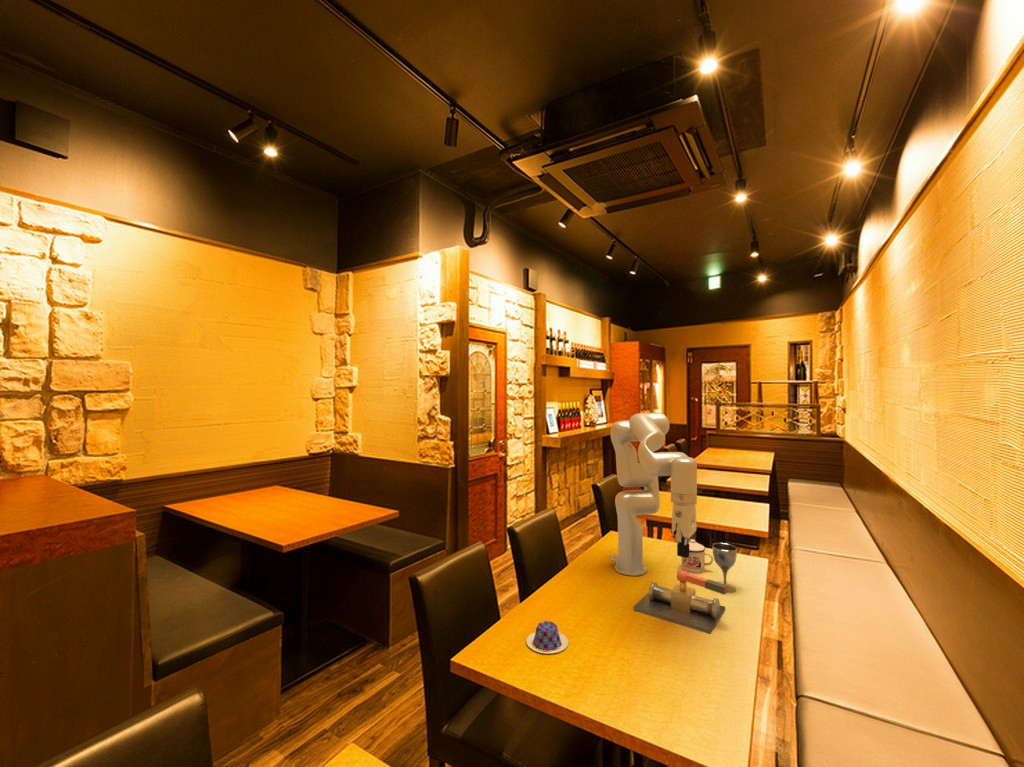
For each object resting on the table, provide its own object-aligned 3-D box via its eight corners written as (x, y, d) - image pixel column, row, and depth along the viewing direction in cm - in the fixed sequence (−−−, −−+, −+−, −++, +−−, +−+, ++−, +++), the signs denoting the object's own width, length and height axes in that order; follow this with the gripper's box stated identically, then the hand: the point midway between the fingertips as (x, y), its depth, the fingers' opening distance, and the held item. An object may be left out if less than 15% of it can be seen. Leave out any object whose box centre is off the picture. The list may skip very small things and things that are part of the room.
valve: (633, 609, 148) (632, 580, 148) (653, 590, 162) (653, 563, 162) (710, 633, 133) (709, 600, 133) (725, 609, 147) (724, 580, 147)
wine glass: (734, 595, 157) (734, 552, 158) (710, 589, 162) (710, 547, 162) (739, 587, 164) (738, 545, 164) (716, 581, 169) (715, 541, 169)
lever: (675, 579, 148) (674, 572, 148) (680, 576, 150) (680, 569, 150) (723, 595, 136) (723, 587, 136) (728, 592, 139) (728, 584, 139)
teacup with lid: (679, 571, 179) (678, 541, 179) (682, 563, 187) (682, 534, 187) (712, 576, 173) (711, 546, 173) (714, 568, 181) (713, 539, 181)
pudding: (517, 643, 130) (517, 624, 130) (546, 628, 138) (546, 610, 138) (547, 661, 121) (547, 642, 121) (576, 644, 129) (576, 626, 129)
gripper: (688, 505, 130) (688, 567, 131) (703, 493, 142) (702, 551, 143) (663, 500, 135) (662, 561, 135) (678, 490, 147) (678, 545, 147)
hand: (683, 555), depth 139 cm, fingers closed
